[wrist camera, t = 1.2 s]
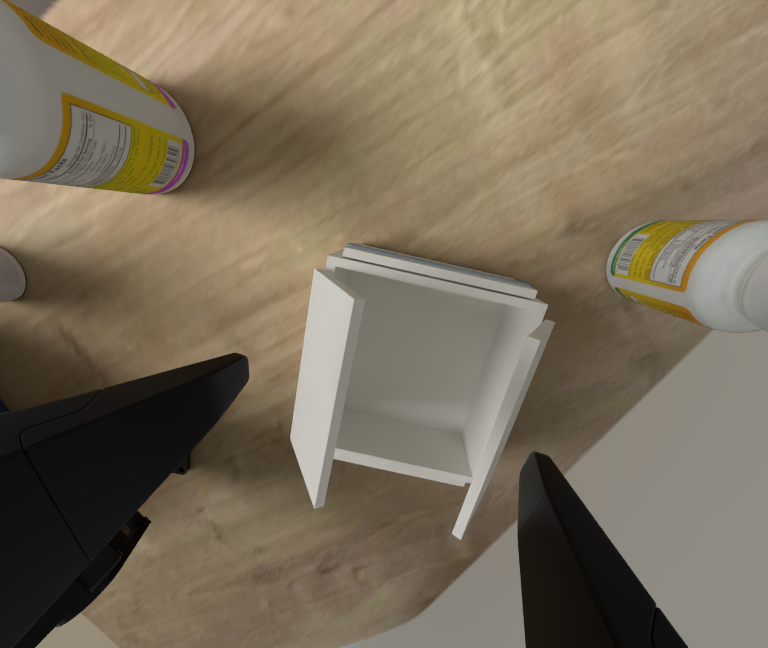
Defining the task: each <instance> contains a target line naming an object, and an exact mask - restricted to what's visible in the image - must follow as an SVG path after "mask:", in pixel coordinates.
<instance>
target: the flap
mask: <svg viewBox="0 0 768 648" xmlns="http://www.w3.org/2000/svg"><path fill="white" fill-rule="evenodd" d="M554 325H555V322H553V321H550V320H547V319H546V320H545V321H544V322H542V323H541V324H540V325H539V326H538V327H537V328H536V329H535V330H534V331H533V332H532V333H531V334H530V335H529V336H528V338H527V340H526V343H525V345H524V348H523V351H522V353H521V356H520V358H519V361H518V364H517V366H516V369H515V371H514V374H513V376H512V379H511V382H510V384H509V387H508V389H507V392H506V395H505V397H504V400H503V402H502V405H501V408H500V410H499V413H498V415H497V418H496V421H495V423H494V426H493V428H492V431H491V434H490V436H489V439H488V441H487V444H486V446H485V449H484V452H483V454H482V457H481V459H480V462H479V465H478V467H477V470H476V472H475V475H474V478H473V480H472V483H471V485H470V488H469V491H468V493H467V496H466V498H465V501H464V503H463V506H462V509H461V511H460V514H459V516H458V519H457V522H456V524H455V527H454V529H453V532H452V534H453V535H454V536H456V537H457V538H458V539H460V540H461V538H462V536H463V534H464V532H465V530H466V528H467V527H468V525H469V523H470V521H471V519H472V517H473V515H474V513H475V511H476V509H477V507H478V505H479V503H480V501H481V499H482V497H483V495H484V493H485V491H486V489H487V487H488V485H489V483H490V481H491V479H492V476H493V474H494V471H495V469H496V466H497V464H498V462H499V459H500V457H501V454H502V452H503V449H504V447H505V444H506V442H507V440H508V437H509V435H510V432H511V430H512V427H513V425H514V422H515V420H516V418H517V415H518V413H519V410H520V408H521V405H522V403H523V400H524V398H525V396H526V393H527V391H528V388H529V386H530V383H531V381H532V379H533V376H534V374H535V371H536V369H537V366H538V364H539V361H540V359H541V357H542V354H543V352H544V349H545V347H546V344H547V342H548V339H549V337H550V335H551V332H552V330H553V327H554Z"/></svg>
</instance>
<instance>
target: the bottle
mask: <svg viewBox="0 0 768 648" xmlns="http://www.w3.org/2000/svg"><path fill="white" fill-rule="evenodd" d="M25 286H26V279H25V275H24V272H23V270H22V268H21V266H20V264H19V263H18V262H17V260H16V259H15V258H14V257H13V256H12V255H11V254H9V253H8V252H7V251H6V250H4V249H2V248H0V303H1V302H6V301H12V300H15V299H17V298H18V297H20V296H21V295H22V294H23V292H24V290H25Z"/></svg>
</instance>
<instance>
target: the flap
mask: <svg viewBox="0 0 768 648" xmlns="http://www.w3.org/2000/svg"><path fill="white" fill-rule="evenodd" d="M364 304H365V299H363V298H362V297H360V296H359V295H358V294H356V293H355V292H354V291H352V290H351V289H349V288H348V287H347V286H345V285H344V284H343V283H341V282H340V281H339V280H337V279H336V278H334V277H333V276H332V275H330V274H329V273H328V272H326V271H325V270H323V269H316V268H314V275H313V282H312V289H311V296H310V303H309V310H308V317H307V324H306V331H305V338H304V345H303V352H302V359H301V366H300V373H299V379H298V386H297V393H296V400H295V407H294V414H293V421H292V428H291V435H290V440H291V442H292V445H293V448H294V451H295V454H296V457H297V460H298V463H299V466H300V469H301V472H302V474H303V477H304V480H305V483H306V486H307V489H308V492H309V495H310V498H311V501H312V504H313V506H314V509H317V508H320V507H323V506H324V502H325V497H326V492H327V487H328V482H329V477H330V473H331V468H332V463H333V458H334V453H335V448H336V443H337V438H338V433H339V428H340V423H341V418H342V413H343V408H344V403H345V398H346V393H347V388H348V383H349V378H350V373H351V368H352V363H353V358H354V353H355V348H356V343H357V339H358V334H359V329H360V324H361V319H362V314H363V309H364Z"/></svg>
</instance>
